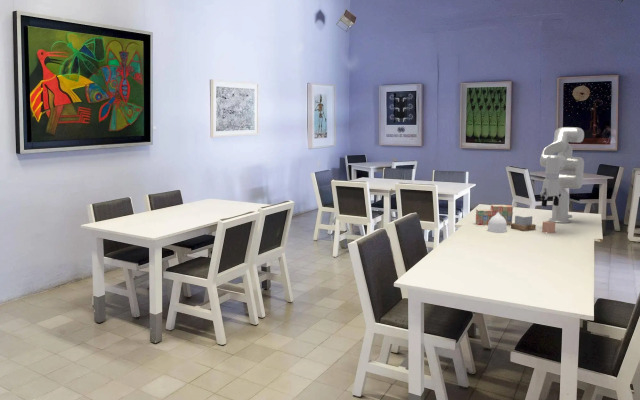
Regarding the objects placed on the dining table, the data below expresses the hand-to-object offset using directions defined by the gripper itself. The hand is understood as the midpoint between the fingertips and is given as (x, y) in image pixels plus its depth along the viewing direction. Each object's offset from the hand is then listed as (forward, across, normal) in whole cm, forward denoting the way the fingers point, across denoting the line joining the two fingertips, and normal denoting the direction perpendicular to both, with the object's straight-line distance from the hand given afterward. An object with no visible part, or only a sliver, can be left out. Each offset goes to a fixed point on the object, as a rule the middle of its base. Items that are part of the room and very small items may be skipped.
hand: (550, 205), depth 324 cm
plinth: (+16, +6, -14) cm, 22 cm away
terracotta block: (+16, -1, 0) cm, 16 cm away
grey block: (+13, +6, -13) cm, 20 cm away
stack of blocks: (+16, +12, -33) cm, 38 cm away
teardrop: (+16, +24, -16) cm, 34 cm away
